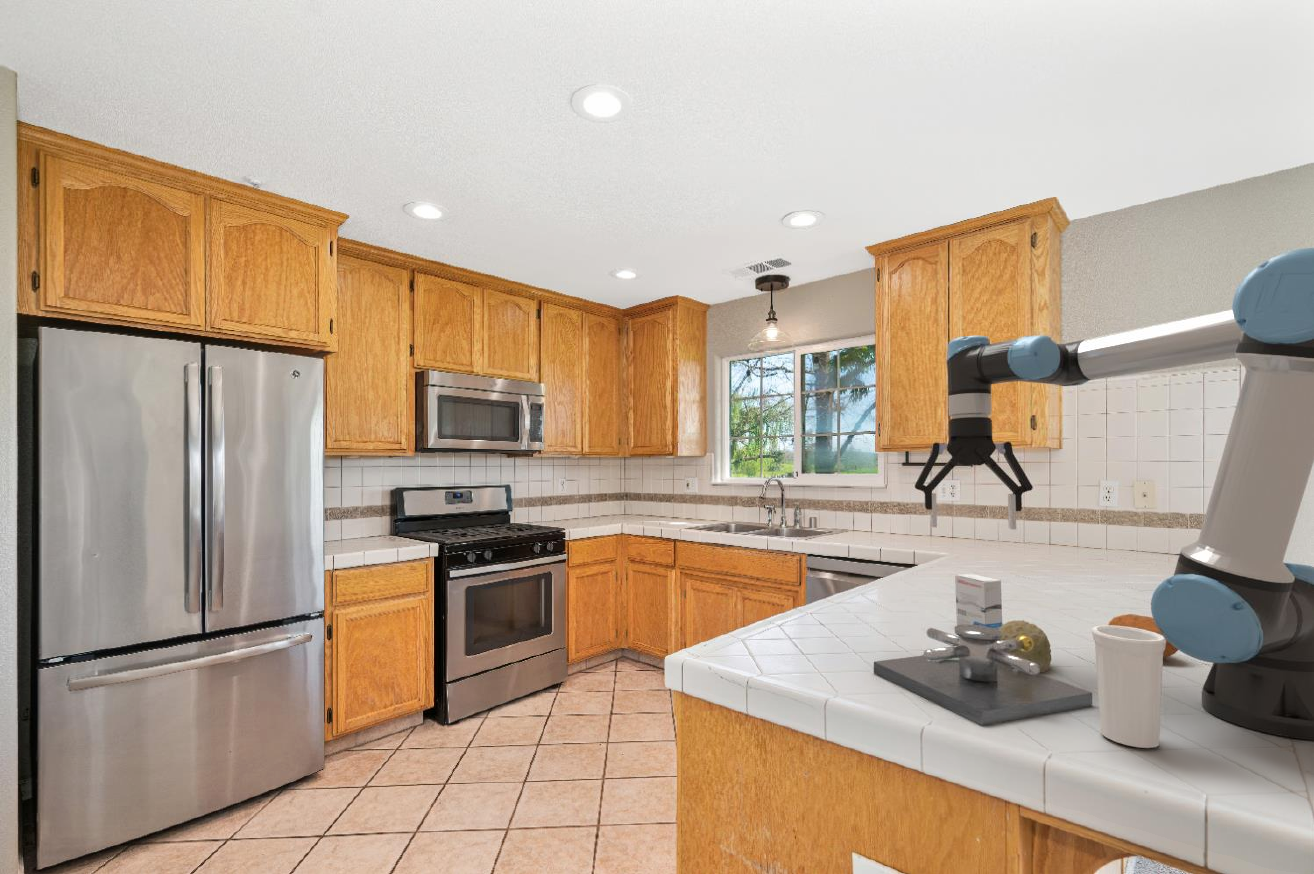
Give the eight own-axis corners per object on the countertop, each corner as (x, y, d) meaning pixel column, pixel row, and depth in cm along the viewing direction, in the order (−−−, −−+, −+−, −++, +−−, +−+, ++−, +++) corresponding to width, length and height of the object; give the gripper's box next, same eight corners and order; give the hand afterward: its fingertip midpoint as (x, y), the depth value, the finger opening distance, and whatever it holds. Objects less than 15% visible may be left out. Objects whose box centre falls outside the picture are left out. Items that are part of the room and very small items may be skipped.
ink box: (1003, 635, 136) (1003, 580, 136) (984, 637, 134) (984, 581, 134) (972, 625, 144) (972, 573, 144) (954, 626, 142) (954, 574, 143)
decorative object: (1044, 695, 111) (1076, 648, 111) (992, 660, 113) (1023, 613, 113) (1021, 682, 120) (1050, 638, 120) (973, 649, 122) (1002, 606, 122)
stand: (1092, 705, 97) (1092, 690, 97) (982, 725, 89) (982, 709, 90) (968, 659, 119) (968, 647, 119) (872, 672, 111) (872, 659, 111)
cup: (1078, 728, 89) (1077, 625, 89) (1133, 726, 90) (1131, 624, 90) (1125, 755, 81) (1123, 641, 81) (1184, 753, 81) (1182, 641, 82)
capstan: (1094, 689, 97) (1093, 641, 98) (982, 708, 90) (981, 656, 90) (977, 649, 118) (977, 609, 118) (878, 661, 110) (878, 619, 110)
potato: (1133, 646, 129) (1133, 608, 129) (1194, 663, 118) (1193, 622, 118) (1098, 649, 126) (1098, 611, 126) (1157, 667, 115) (1156, 626, 115)
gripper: (1038, 417, 123) (1041, 527, 122) (900, 420, 130) (902, 524, 129) (1048, 414, 116) (1052, 531, 115) (901, 417, 123) (904, 527, 122)
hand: (972, 527), depth 122 cm, fingers open, 13 cm apart
